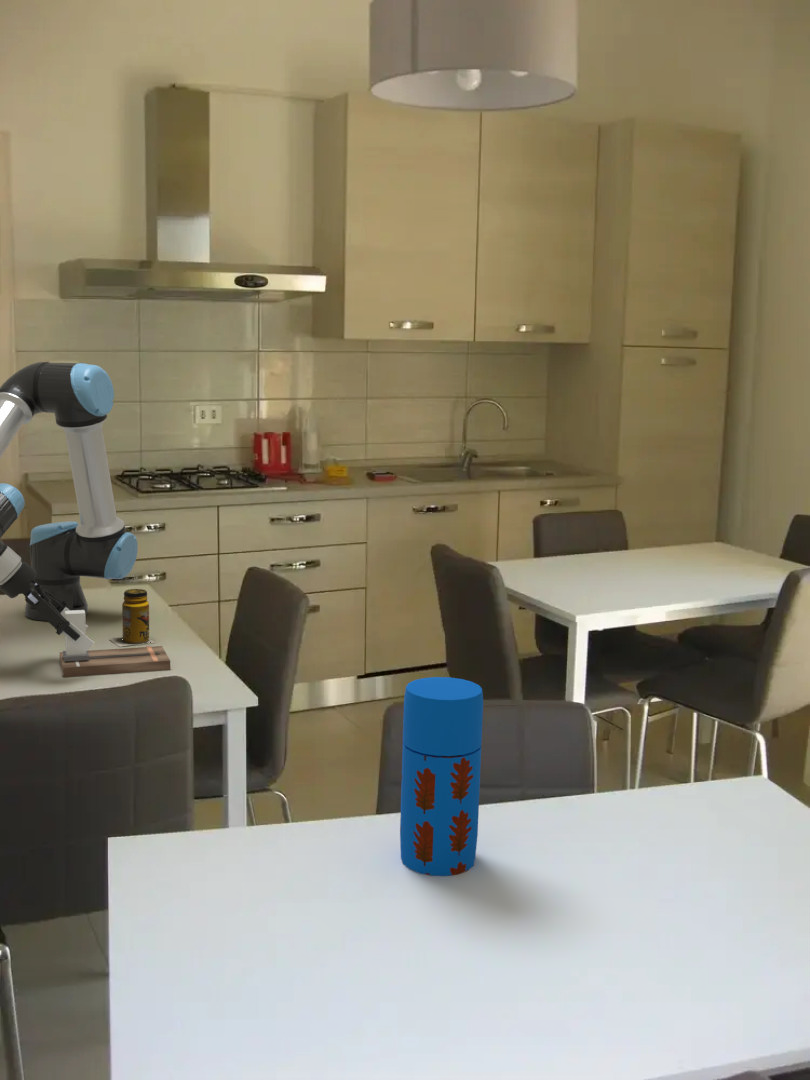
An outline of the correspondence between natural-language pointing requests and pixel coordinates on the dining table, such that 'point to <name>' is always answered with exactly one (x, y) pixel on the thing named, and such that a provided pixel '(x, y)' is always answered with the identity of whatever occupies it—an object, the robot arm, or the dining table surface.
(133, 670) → the fader track
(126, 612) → the condiment
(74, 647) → the fader tab
